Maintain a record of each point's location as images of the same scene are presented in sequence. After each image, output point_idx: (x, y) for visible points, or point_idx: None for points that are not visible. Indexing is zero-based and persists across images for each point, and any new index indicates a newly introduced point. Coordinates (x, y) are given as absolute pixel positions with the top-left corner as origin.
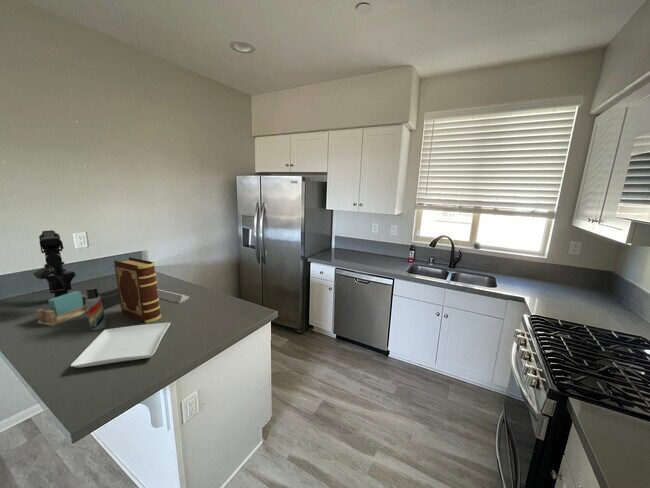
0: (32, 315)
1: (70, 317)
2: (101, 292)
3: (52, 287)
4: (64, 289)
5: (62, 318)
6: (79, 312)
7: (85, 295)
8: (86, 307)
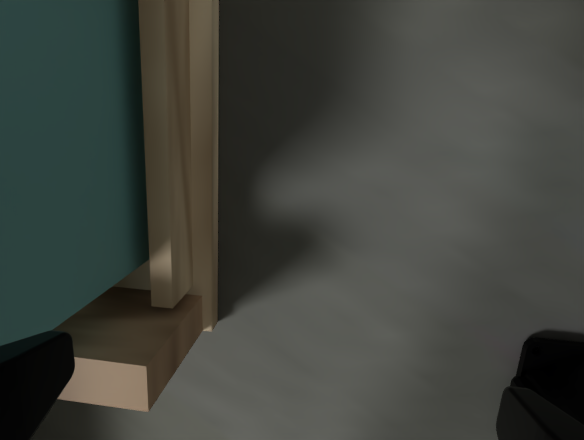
0: (512, 24)
1: None
2: None
3: (515, 400)
4: (50, 337)
5: None
6: None
7: (66, 394)
8: None
